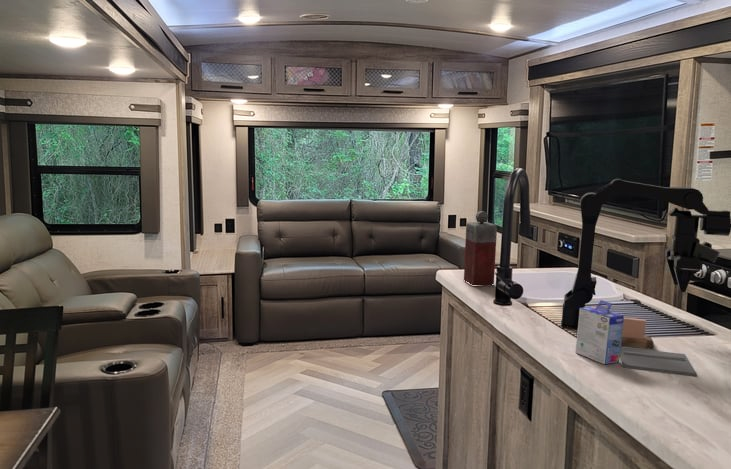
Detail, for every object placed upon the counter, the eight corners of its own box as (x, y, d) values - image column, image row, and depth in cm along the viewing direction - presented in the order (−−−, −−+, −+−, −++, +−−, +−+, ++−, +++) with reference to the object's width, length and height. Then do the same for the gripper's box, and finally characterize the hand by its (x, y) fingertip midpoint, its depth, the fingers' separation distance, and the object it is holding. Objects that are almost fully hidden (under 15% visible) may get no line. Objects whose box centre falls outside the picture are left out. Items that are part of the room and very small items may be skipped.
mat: (623, 367, 145) (623, 362, 145) (617, 348, 158) (618, 344, 158) (696, 376, 140) (697, 371, 140) (684, 356, 153) (685, 351, 153)
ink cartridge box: (621, 362, 148) (626, 306, 146) (605, 365, 146) (610, 308, 144) (589, 350, 157) (594, 296, 155) (574, 353, 154) (578, 298, 152)
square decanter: (482, 279, 237) (485, 209, 233) (494, 285, 227) (498, 212, 222) (461, 279, 236) (464, 209, 231) (472, 286, 225) (475, 212, 220)
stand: (604, 343, 162) (605, 337, 162) (603, 337, 167) (603, 331, 167) (653, 349, 159) (653, 342, 158) (649, 342, 164) (650, 336, 164)
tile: (611, 342, 164) (614, 317, 163) (611, 340, 165) (613, 316, 164) (643, 345, 161) (646, 320, 160) (643, 344, 162) (645, 319, 161)
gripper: (727, 240, 153) (720, 299, 155) (710, 230, 171) (703, 283, 173) (679, 237, 156) (673, 294, 159) (667, 228, 174) (661, 280, 176)
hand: (679, 288), depth 167 cm, fingers open, 9 cm apart
